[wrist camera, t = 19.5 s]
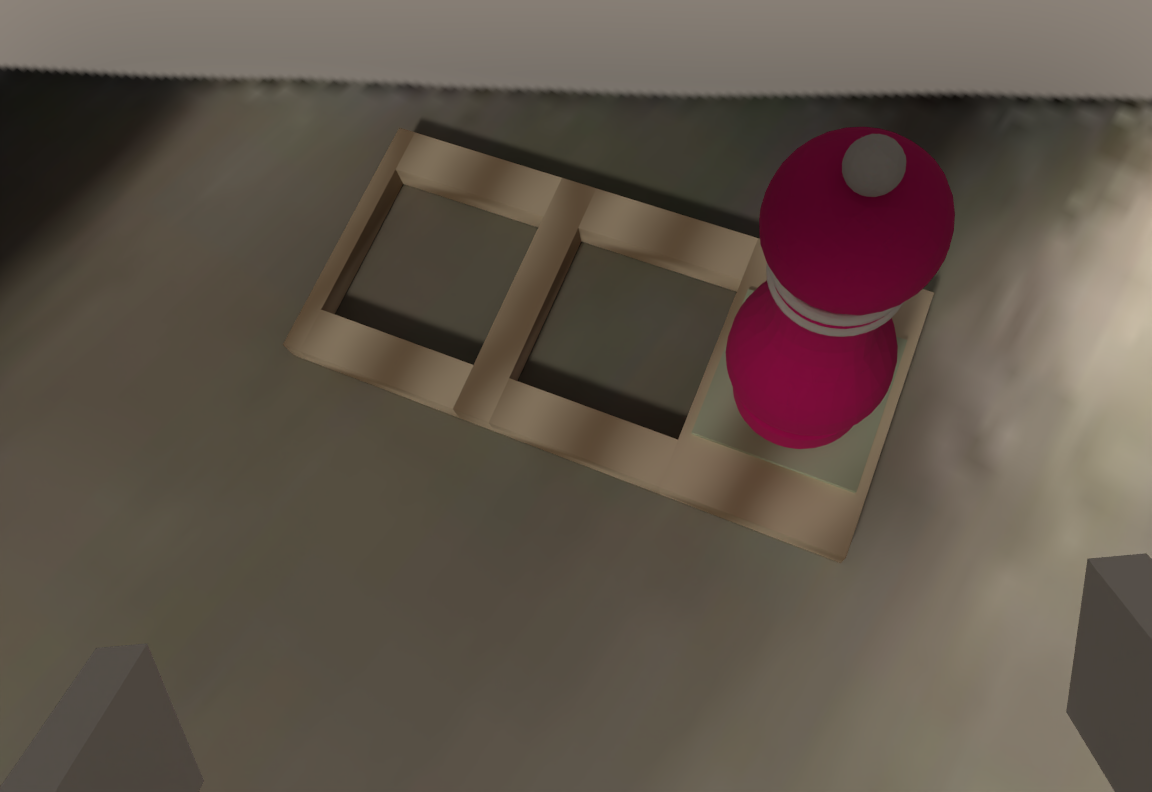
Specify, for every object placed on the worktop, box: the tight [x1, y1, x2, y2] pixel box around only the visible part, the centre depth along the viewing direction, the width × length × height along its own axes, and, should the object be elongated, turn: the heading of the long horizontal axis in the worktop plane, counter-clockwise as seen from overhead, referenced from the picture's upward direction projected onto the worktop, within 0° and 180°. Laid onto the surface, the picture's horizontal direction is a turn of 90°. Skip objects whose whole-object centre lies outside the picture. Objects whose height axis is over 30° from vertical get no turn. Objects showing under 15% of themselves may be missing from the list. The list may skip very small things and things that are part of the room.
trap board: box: [283, 128, 934, 563], centre depth 48 cm, size 30×14×2 cm, turn 67°
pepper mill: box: [725, 127, 955, 449], centre depth 36 cm, size 7×7×20 cm
